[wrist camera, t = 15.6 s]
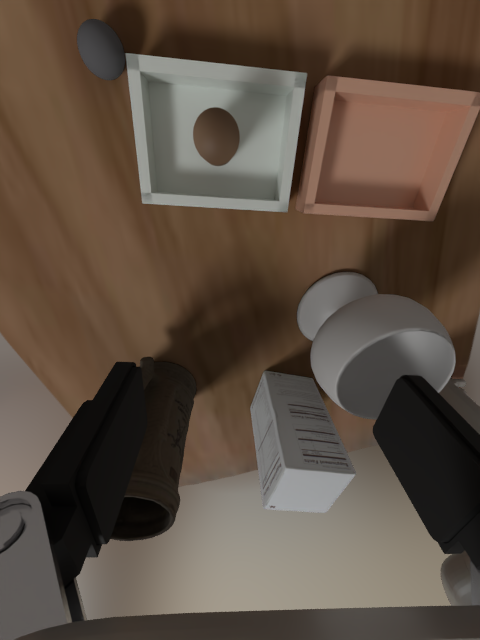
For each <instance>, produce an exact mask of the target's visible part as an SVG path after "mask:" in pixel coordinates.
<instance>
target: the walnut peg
mask: <svg viewBox="0 0 480 640" xmlns="http://www.w3.org/2000/svg"><path fill="white" fill-rule="evenodd" d="M193 140H194V144H195V147H196V149H197V151H198V153H199V154H200V156H201V157H202V158H203V159H205V160H206V161H207V162H208V163H210V164H211V165H214V166H223V165H225V164H227V163H228V162H229V161H230V160H231V159H232V157H233V156H234V155H235V153H236V151H237V149H238V146H239V141H240V134H239V128H238V125H237V123H236V121H235V119H234V118H233V116H232V115H231V114H230V113H229V112H227V111H226V110H224V109H222V108H218V107H213V108H209V109H206V110H205V111H203V112H202V113H201V114H200V115H199V116H198V118H197V120H196V122H195V124H194V128H193Z"/></svg>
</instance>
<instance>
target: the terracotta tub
mask: <svg viewBox="0 0 480 640" xmlns="http://www.w3.org/2000/svg"><path fill="white" fill-rule="evenodd" d="M479 110H480V92H473V91H464V90H455V89H446V88H437V87H428V86H419V85H410V84H401V83H392V82H383V81H374V80H365V79H356V78H347V77H338V76H329V75H327V76H326V77H325V78H324V79H323V80H322V81H321V82H320V83H318V84H317V85H316V86H315V88H314V94H313V100H312V107H311V113H310V120H309V126H308V132H307V139H306V145H305V151H304V158H303V164H302V170H301V177H300V183H299V189H298V196H297V202H296V208H295V209H296V210H298V211H300V212H302V213H308V214H324V215H341V216H357V217H373V218H389V219H406V220H422V221H434V219H435V217H436V214H437V212H438V209H439V207H440V204H441V202H442V200H443V197H444V195H445V192H446V190H447V187H448V185H449V182H450V180H451V178H452V175H453V173H454V170H455V168H456V165H457V163H458V161H459V158H460V156H461V153H462V151H463V148H464V146H465V144H466V141H467V139H468V136H469V134H470V131H471V129H472V127H473V124H474V122H475V119H476V117H477V114H478V112H479Z"/></svg>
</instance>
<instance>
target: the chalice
mask: <svg viewBox="0 0 480 640" xmlns="http://www.w3.org/2000/svg"><path fill="white" fill-rule="evenodd" d="M297 323H298V326H299V329H300V330H301V332H302V333H303V335H304V336H305V337H307V338H308V339H309V340H311V341H313V344H312V348H311V356H310V357H311V367H312V370H313V373H314V375H315V377H316V380H317V382H318V383H319V385H320V386H321V388H322V389H323V390H324V391H325V392H326V393H327V395H328V396H329V397H330V398H331V399H332V400H333V401H334V402H335V403H336V404H337V405H339V406H340V407H342V408H343V409H345V410H346V411H348V412H349V413H351V414H353V415H355V416H359V417H362V418H367V419H377V418H378V416H379V414H380V412H381V410H382V408H383V406H384V404H385V402H386V400H387V398H388V396H389V394H390V392H391V390H392V388H393V386H394V384H395V382H396V380H397V379H399V378H400V377H401V376H402V375H419V376H422V377H423V378H424V379H425V380H426V381H427V382H428V383H429V384H430V385H431V386H432V387H433V388H434V389H435V390H436V391H437V392H438V393H439V392H440V391H441V390H442V389H443V388H444V386H445V385H446V384H447V383H448V381H449V379H450V377H451V376H452V374H453V371H454V367H455V363H456V360H455V349H454V346H453V344H452V341H451V339H450V336H449V334H448V332H447V331H446V329H445V327H444V326H443V325H442V324H441V323H440V321H439V320H438V319H437V318H436V317H435V316H434V315H433V314H432V313H431V312H430V311H429V310H428V309H427V308H426V307H424V306H423V305H421V304H419V303H417V302H416V301H414V300H412V299H410V298H407V297H403V296H399V295H391V294H378V292H377V289H376V287H375V285H374V284H373V283H372V282H371V280H370V279H368V278H367V277H365V276H364V275H362V274H359V273H355V272H339V273H334V274H331V275H328V276H326V277H324V278H322V279H320V280H319V281H317V282H316V283H314V284H313V285H312V286H311V287H310V288H309V289H308V290H307V291H306V293H305V294H304V295H303V297H302V299H301V301H300V303H299V305H298V310H297Z"/></svg>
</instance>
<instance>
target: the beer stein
mask: <svg viewBox="0 0 480 640" xmlns="http://www.w3.org/2000/svg"><path fill="white" fill-rule="evenodd" d="M140 367H141V370H142V379H143V387H144V395H145V404H146V412H147V429H146V432H145V435H144V438H143V441H142V444H141V448H140V451H139V454H138V457H137V460H136V463H135V466H134V469H133V472H132V475H131V478H130V481H129V484H128V487H127V490H126V493H125V496H124V499H123V502H122V505H121V508H120V511H119V514H118V517H117V520H116V523H115V526H114V529H113V532H112V535H111V538H110V539H114V540H120V541H133V540H143V539H148V538H152V537H155V536H157V535H160V534H162V533H164V532H165V531H167V530H168V529H169V528H170V527H171V526H172V525H173V523H174V521H175V517H176V513H177V511H178V508H179V504H180V496H179V494H178V484H179V477H180V472H181V469H182V462H183V457H184V447H185V441H186V435H187V432H188V426H189V419H190V415H191V411H192V408H193V404H194V400H193V399H194V396H195V393H196V383H195V380H194V378H193V376H192V375H191V374H190V373H189V372H188V371H187V370H186V369H184V368H183V367H181V366H179V365H176V364H173V363H169V362H155V363H154V359H153V358H152V357H144V358H142V359H141V360H140Z"/></svg>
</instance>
